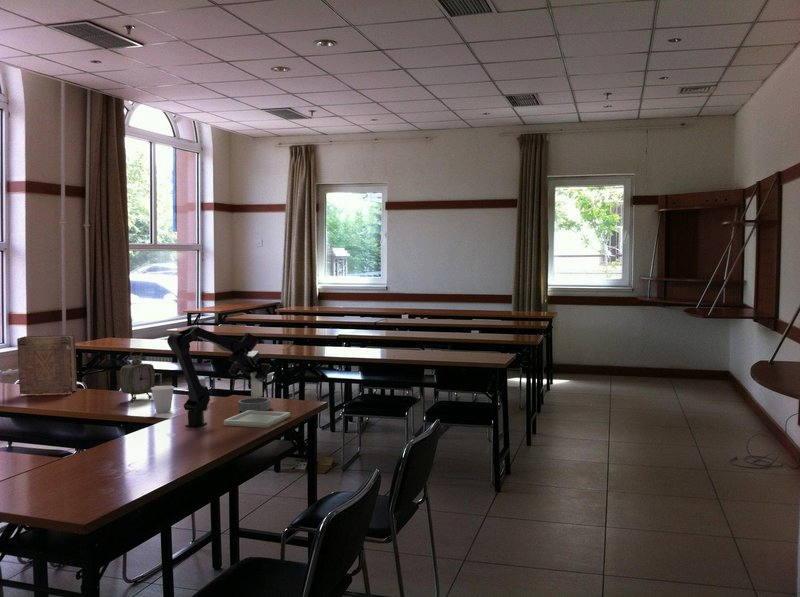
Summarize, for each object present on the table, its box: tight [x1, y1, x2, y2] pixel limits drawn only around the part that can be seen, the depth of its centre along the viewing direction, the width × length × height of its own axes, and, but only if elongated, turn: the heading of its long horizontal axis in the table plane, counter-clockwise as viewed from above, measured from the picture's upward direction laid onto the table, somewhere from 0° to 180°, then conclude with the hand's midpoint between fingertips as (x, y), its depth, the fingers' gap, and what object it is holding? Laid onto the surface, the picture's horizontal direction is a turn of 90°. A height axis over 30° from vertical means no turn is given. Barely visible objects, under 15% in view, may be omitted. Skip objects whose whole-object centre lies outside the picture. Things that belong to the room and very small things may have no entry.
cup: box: [151, 385, 175, 414], centre depth 313 cm, size 10×10×11 cm
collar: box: [238, 397, 271, 413], centre depth 316 cm, size 14×14×4 cm
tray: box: [223, 410, 291, 429], centre depth 292 cm, size 20×20×2 cm
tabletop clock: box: [119, 348, 156, 403], centre depth 342 cm, size 14×9×25 cm, turn 150°
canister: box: [250, 372, 263, 398], centre depth 314 cm, size 5×5×12 cm
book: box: [16, 334, 78, 395], centre depth 363 cm, size 25×9×30 cm, turn 100°
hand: (257, 381), depth 314 cm, fingers closed on canister, 5 cm apart
